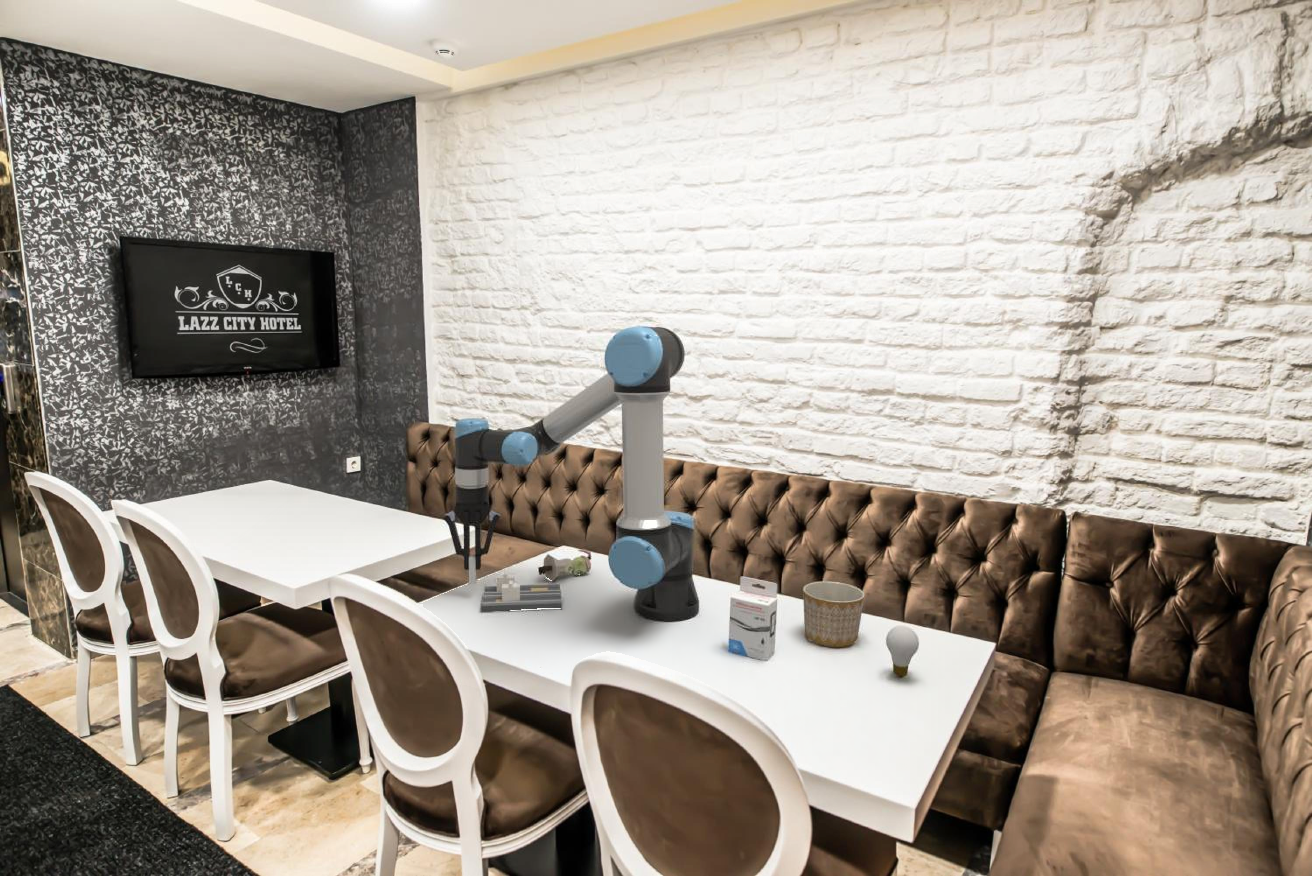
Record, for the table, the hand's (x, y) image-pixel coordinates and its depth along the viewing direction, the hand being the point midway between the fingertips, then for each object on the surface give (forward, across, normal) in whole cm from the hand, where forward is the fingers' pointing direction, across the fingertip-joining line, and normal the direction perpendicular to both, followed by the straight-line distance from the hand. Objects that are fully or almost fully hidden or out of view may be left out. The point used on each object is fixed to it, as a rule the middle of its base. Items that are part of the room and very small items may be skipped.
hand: (472, 582), depth 178 cm
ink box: (+4, -58, +37) cm, 69 cm away
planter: (+4, -77, +32) cm, 83 cm away
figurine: (+4, -23, -12) cm, 27 cm away
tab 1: (+2, -8, 0) cm, 8 cm away
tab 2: (+2, -9, +7) cm, 12 cm away
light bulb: (+3, -83, +51) cm, 97 cm away
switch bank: (+4, -12, +4) cm, 13 cm away
